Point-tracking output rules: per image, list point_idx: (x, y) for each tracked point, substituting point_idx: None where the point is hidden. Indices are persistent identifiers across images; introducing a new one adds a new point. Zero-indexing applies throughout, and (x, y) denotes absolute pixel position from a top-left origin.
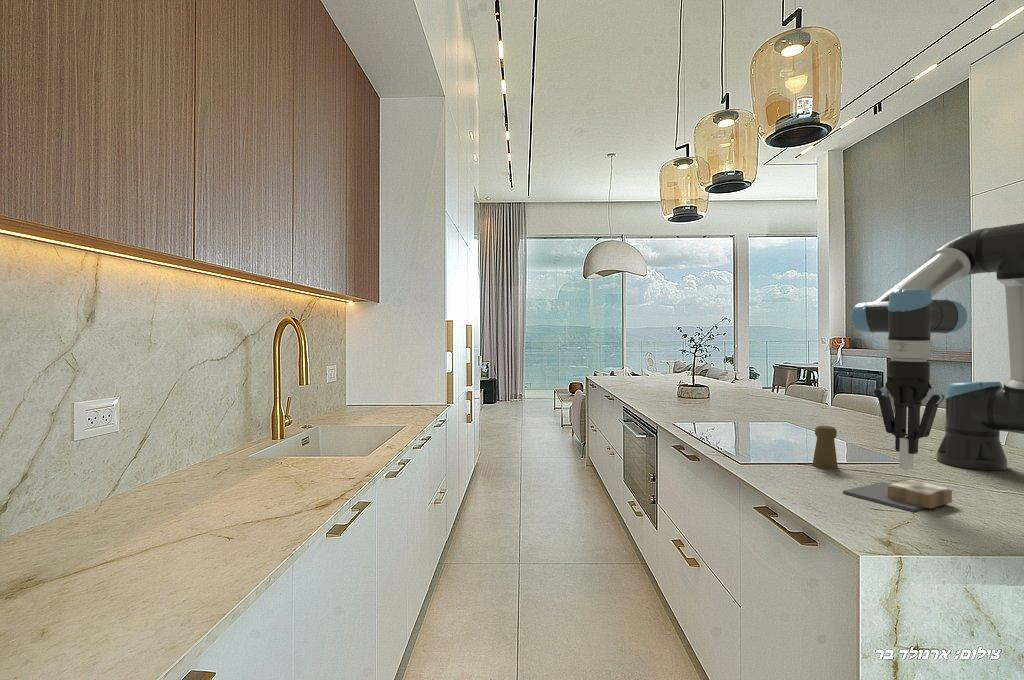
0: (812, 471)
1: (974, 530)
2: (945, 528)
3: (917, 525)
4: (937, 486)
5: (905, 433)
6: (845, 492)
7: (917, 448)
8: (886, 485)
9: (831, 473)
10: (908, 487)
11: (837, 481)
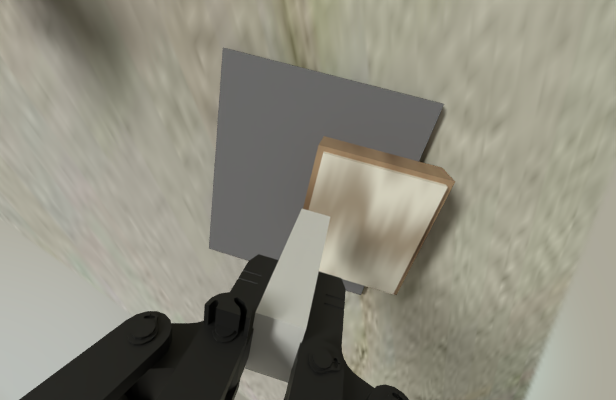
0: (32, 52)
1: (474, 336)
2: (423, 351)
3: (379, 359)
4: (410, 192)
5: (243, 348)
6: (215, 248)
7: (342, 308)
8: (250, 96)
9: (67, 22)
10: (338, 268)
11: (142, 130)
